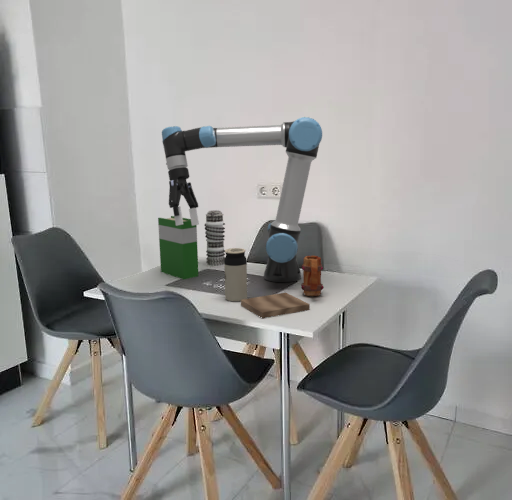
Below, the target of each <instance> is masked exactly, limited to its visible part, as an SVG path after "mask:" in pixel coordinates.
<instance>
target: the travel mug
mask: <svg viewBox="0 0 512 500" xmlns="http://www.w3.org/2000/svg"><path fill="white" fill-rule="evenodd" d="M224 250H225V252H224V254H225V256H224V257H225V259H224V266H223V267H224V296H225V300H226V301H228V302H235V303H236V302H241V300H243V299H248V272H247V271H248V269H247V267H248V265H247V263H248V262H247V260H248V259H247V257H246V256H245V254H246V251H247V249H245V248H241V247H233V248H231V247H230V248H225V249H224Z"/></svg>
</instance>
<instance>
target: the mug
mask: <svg viewBox="0 0 512 500" xmlns="http://www.w3.org/2000/svg"><path fill="white" fill-rule="evenodd" d="M323 269H324V267H323V264H322V257H320V256H318V255H306V256H304V257H303V263H302V265H301V270H302V271H303V272H302V273H303V274H302V275H303V282H302V283H301V284H300V286H301V290H302V291H303V295H304V296H306V297H319V296H321V294H322V290H323V289H325V287H324V285H323V283H322V271H323Z"/></svg>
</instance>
